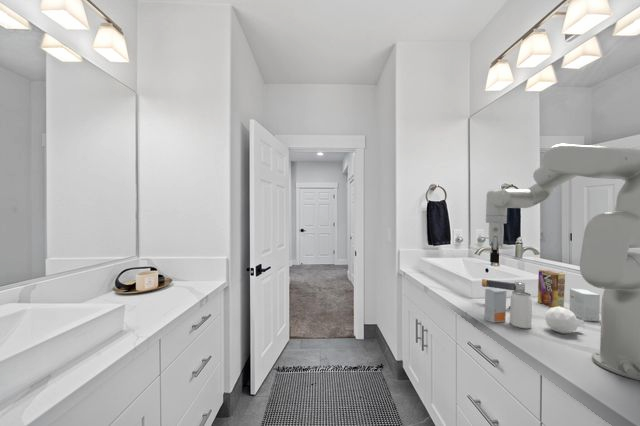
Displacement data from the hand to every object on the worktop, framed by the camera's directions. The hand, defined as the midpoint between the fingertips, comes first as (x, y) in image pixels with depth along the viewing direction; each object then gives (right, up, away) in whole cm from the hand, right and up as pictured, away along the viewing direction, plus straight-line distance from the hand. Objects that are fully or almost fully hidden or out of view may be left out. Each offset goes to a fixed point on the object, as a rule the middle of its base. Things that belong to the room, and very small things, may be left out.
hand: (494, 262), depth 119 cm
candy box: (+30, -21, +7) cm, 37 cm away
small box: (+32, -21, -7) cm, 39 cm away
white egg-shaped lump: (+12, -21, -21) cm, 32 cm away
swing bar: (+6, -13, +4) cm, 14 cm away
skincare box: (-7, -21, -11) cm, 24 cm away
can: (0, -21, -16) cm, 26 cm away
